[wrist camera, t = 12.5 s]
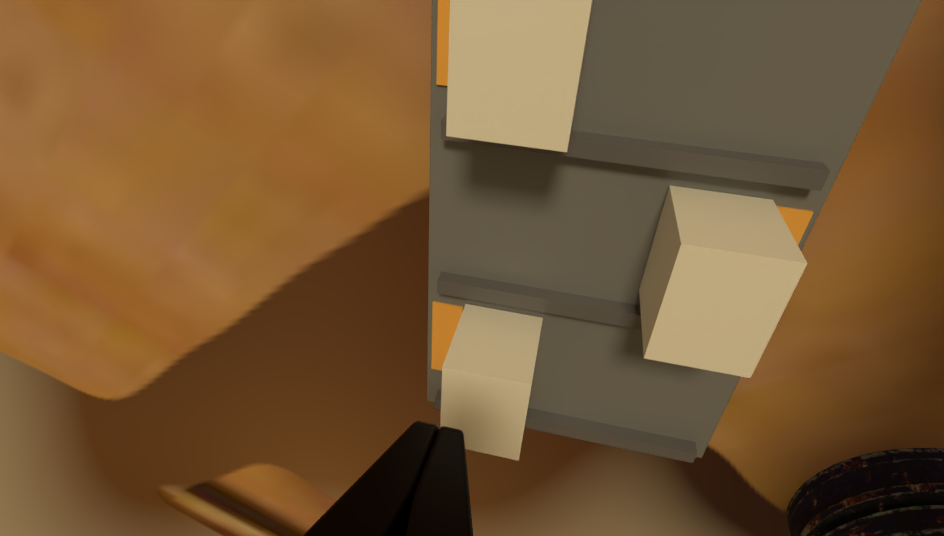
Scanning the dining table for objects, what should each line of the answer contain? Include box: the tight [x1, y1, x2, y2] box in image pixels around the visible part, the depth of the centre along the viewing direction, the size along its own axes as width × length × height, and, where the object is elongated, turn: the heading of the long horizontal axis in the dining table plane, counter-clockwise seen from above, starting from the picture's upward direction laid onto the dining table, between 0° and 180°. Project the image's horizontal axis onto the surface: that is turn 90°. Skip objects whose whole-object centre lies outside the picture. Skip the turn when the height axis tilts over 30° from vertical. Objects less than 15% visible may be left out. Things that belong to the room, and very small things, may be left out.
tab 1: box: [446, 0, 593, 152], centre depth 13 cm, size 3×4×4 cm
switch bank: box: [427, 0, 922, 463], centre depth 18 cm, size 12×20×2 cm, turn 176°
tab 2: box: [639, 185, 807, 378], centre depth 16 cm, size 3×4×4 cm
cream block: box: [440, 304, 543, 460], centre depth 20 cm, size 3×4×4 cm
